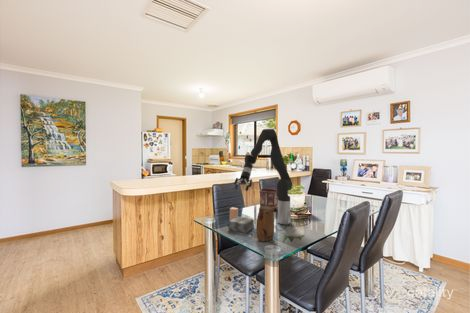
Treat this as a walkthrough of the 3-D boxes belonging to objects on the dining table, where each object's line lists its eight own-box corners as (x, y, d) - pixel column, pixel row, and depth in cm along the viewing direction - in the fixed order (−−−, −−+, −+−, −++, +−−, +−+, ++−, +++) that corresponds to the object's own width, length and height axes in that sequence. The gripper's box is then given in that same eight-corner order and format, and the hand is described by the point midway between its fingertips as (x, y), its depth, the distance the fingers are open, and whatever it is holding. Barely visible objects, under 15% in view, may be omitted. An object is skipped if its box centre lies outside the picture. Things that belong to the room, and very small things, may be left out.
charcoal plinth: (253, 227, 162) (253, 218, 162) (246, 233, 151) (246, 224, 151) (237, 224, 169) (237, 216, 168) (228, 229, 157) (229, 220, 157)
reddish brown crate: (266, 212, 199) (266, 192, 199) (255, 207, 215) (256, 189, 215) (282, 211, 207) (283, 191, 206) (271, 206, 223) (272, 188, 222)
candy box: (310, 213, 201) (310, 194, 201) (311, 215, 195) (312, 196, 195) (294, 212, 202) (294, 194, 202) (295, 214, 197) (295, 195, 196)
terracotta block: (238, 221, 176) (238, 208, 176) (235, 222, 172) (235, 209, 172) (232, 219, 178) (232, 207, 178) (229, 221, 174) (229, 208, 174)
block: (265, 235, 148) (266, 204, 147) (275, 239, 142) (275, 207, 141) (254, 239, 140) (255, 207, 140) (263, 243, 135) (264, 210, 134)
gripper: (237, 170, 193) (231, 186, 184) (253, 171, 188) (248, 188, 179) (239, 175, 199) (233, 191, 189) (254, 177, 194) (250, 193, 184)
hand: (241, 189), depth 184 cm, fingers open, 8 cm apart
